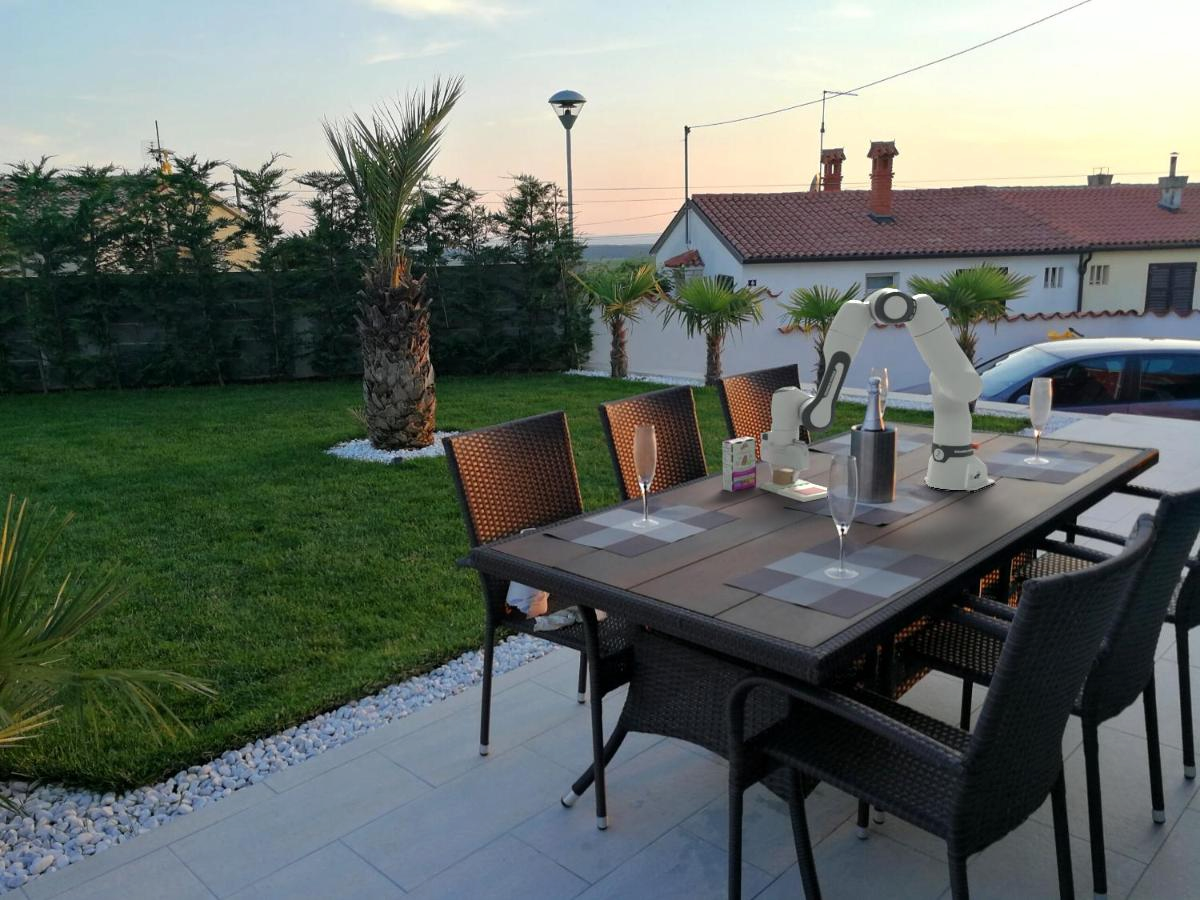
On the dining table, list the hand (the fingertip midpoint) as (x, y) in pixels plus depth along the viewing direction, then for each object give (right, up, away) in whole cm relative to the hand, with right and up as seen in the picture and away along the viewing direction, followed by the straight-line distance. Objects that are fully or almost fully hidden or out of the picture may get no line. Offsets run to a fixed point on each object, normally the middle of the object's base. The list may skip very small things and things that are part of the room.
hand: (784, 478), depth 273 cm
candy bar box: (-14, -3, +2) cm, 15 cm away
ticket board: (+5, -5, -9) cm, 11 cm away
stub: (0, -3, 0) cm, 3 cm away
